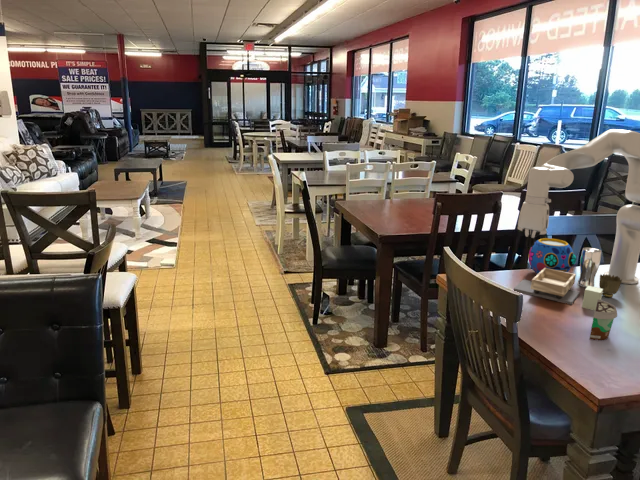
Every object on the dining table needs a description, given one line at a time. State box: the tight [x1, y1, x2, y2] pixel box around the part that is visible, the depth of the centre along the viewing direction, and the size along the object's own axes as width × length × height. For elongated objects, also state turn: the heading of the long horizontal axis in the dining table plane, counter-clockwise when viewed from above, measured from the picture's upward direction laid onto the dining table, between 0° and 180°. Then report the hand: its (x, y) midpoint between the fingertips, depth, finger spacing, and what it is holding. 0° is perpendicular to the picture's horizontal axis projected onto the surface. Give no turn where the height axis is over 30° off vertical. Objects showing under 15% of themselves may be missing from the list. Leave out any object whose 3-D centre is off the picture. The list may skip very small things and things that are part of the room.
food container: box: [589, 299, 618, 342], centre depth 161 cm, size 12×6×10 cm, turn 148°
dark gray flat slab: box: [513, 279, 580, 306], centre depth 197 cm, size 13×21×1 cm, turn 53°
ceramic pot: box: [527, 237, 577, 275], centre depth 213 cm, size 18×18×15 cm
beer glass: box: [577, 247, 602, 289], centre depth 203 cm, size 7×7×15 cm
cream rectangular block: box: [581, 286, 603, 311], centre depth 183 cm, size 5×5×7 cm
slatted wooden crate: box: [531, 268, 577, 299], centre depth 195 cm, size 18×12×6 cm, turn 143°
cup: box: [598, 274, 622, 299], centre depth 193 cm, size 8×7×8 cm
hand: (529, 246), depth 197 cm, fingers closed
